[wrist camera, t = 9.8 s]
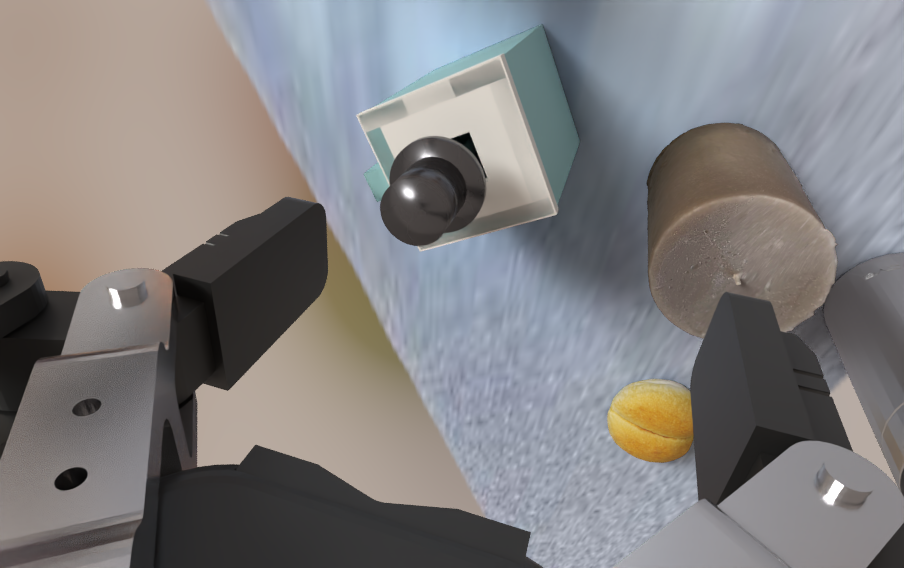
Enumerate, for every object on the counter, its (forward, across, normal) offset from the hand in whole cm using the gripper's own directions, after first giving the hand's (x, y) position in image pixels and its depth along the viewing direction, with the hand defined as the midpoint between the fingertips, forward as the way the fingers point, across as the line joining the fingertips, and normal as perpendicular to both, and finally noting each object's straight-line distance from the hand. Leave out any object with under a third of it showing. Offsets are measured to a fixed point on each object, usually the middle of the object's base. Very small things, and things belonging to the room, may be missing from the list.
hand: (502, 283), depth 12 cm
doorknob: (+32, +7, +6) cm, 33 cm away
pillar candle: (+35, -10, +9) cm, 38 cm away
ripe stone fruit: (+36, -11, +32) cm, 50 cm away
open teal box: (+35, +8, +6) cm, 36 cm away
